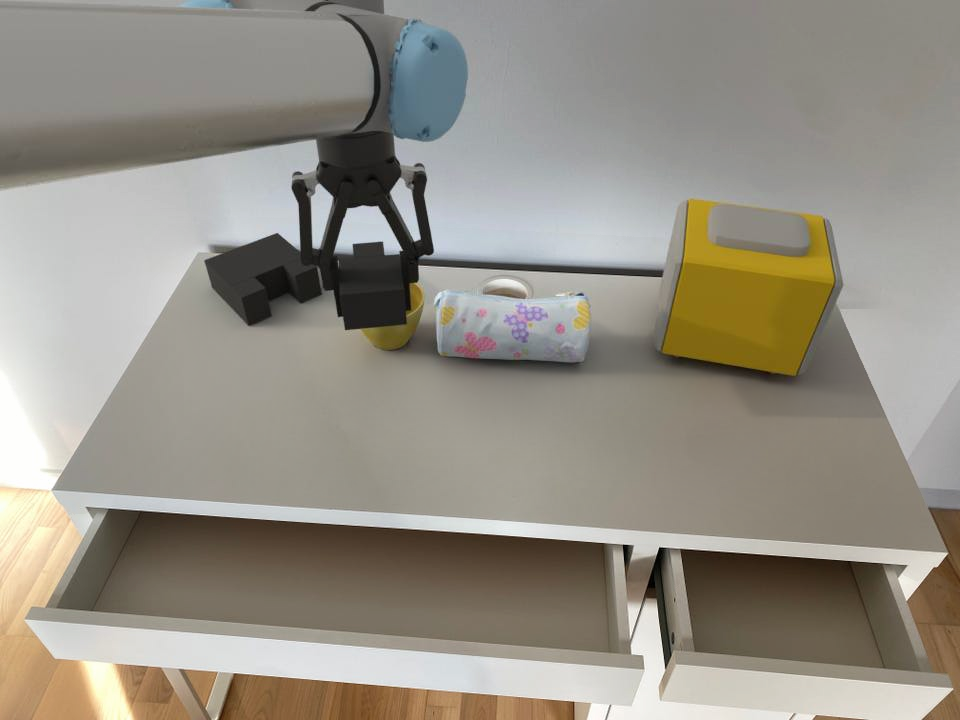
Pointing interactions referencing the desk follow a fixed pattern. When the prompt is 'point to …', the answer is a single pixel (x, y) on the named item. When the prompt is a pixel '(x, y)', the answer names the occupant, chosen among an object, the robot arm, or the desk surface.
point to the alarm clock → (747, 286)
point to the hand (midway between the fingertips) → (374, 306)
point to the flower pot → (400, 333)
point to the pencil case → (513, 326)
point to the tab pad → (371, 288)
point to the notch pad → (261, 276)
